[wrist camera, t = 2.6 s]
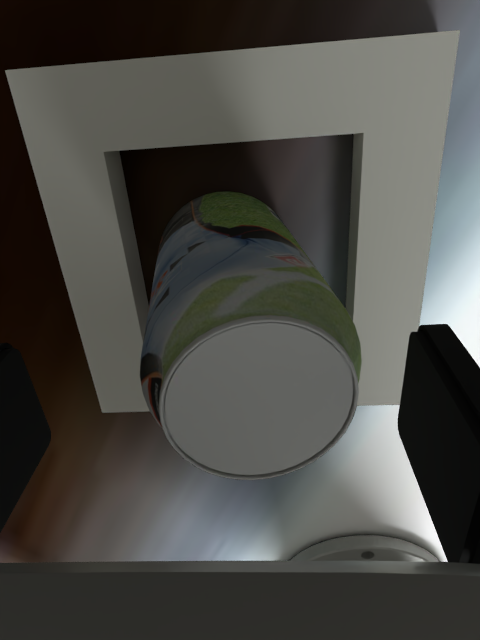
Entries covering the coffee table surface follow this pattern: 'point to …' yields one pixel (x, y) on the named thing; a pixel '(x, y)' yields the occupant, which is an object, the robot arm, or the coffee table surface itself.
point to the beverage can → (245, 343)
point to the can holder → (240, 126)
